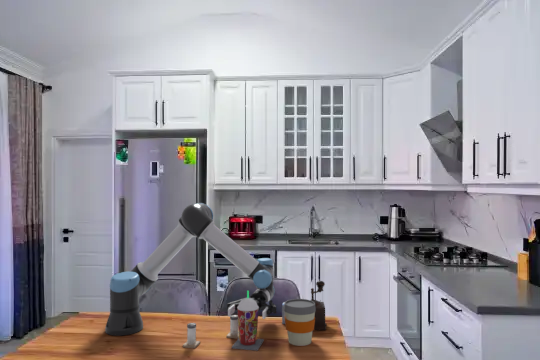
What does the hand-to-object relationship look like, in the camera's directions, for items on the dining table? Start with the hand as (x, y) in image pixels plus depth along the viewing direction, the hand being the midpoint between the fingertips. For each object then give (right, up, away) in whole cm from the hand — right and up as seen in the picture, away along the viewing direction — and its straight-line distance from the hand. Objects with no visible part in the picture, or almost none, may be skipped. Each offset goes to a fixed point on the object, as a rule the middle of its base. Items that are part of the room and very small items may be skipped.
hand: (245, 314), depth 154 cm
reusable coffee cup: (+21, -13, +6) cm, 25 cm away
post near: (-21, -13, +2) cm, 25 cm away
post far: (-5, -13, +12) cm, 18 cm away
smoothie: (+1, -12, +3) cm, 12 cm away
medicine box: (+19, -13, +28) cm, 36 cm away
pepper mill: (+28, -13, +26) cm, 41 cm away
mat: (+1, -13, +3) cm, 13 cm away
